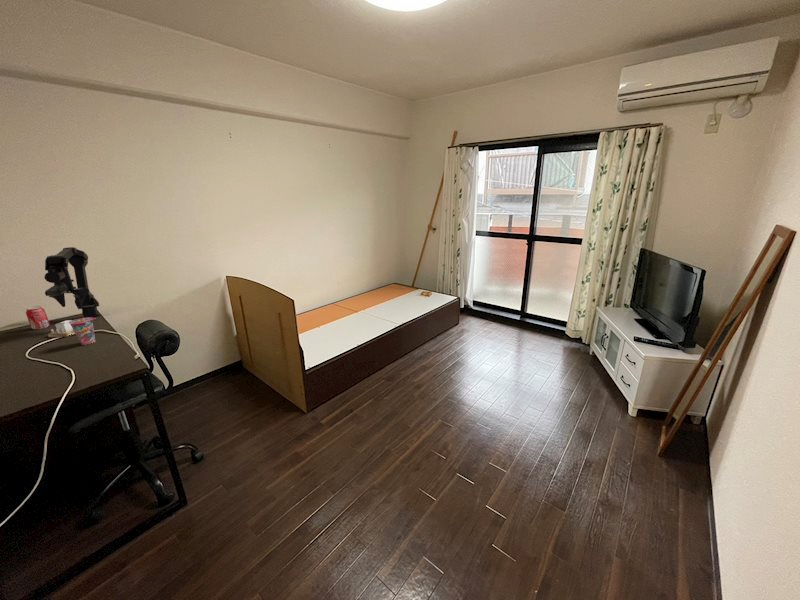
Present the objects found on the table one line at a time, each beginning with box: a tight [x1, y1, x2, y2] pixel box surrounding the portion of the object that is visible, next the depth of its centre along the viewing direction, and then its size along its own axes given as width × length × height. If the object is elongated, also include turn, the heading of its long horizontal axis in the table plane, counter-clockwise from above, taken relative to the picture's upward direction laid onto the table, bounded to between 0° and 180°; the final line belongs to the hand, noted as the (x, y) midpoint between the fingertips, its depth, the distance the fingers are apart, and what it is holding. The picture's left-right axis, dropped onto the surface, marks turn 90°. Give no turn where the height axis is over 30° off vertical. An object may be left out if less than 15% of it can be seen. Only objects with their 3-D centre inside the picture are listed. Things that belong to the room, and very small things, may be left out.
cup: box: [69, 317, 97, 346], centre depth 157 cm, size 9×8×12 cm
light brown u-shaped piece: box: [47, 328, 75, 338], centre depth 170 cm, size 9×9×4 cm
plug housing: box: [54, 319, 73, 332], centre depth 171 cm, size 6×4×6 cm
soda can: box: [25, 305, 50, 330], centre depth 178 cm, size 7×7×12 cm
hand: (72, 306), depth 177 cm, fingers open, 9 cm apart
